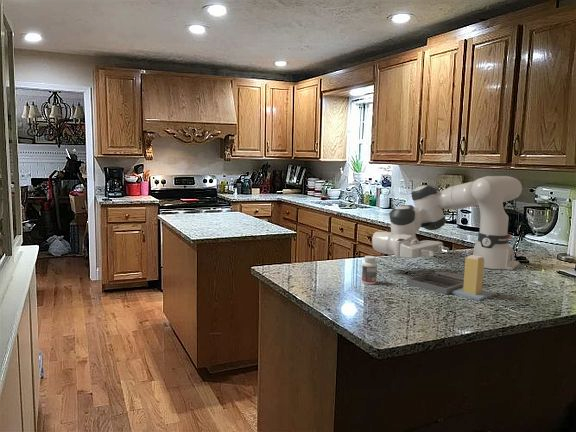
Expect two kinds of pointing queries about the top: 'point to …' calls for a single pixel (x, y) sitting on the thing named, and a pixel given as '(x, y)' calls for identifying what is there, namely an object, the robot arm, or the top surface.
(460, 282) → the case
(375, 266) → the pill bottle
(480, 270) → the block
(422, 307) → the top surface
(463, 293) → the mat
